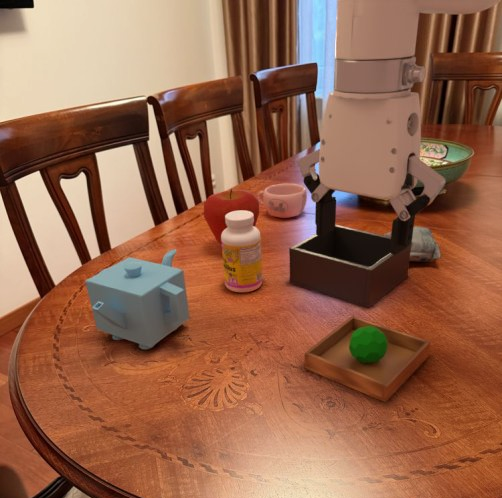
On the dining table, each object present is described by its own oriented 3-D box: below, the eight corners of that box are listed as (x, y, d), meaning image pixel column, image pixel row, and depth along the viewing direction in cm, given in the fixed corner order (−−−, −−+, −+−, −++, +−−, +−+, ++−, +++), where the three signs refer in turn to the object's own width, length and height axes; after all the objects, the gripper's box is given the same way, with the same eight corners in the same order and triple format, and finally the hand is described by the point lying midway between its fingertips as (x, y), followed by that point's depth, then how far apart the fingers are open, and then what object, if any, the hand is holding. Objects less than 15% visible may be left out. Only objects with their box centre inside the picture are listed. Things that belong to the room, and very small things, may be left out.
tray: (428, 357, 70) (430, 341, 69) (385, 402, 63) (387, 386, 62) (351, 330, 77) (352, 315, 76) (304, 368, 70) (304, 352, 68)
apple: (247, 233, 112) (244, 177, 106) (270, 250, 104) (268, 190, 98) (200, 244, 109) (193, 186, 102) (219, 262, 100) (214, 201, 94)
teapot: (69, 346, 77) (49, 277, 71) (149, 295, 90) (138, 233, 84) (149, 375, 70) (135, 302, 64) (224, 315, 83) (218, 249, 77)
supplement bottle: (219, 281, 93) (213, 212, 86) (254, 274, 95) (250, 205, 88) (232, 297, 88) (226, 224, 81) (268, 288, 90) (265, 217, 83)
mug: (312, 209, 123) (312, 184, 120) (297, 223, 116) (297, 197, 113) (266, 205, 128) (265, 180, 125) (249, 218, 120) (247, 193, 117)
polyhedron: (390, 355, 70) (394, 324, 68) (378, 374, 67) (381, 343, 64) (356, 345, 73) (358, 316, 70) (342, 364, 69) (343, 333, 67)
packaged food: (390, 269, 94) (393, 243, 91) (382, 243, 104) (385, 220, 101) (440, 269, 93) (444, 243, 90) (427, 243, 103) (430, 220, 100)
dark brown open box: (407, 277, 91) (411, 241, 87) (368, 308, 82) (371, 270, 79) (332, 256, 100) (333, 224, 96) (289, 283, 91) (289, 248, 88)
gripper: (474, 76, 49) (446, 247, 58) (320, 71, 58) (317, 217, 68) (441, 87, 44) (415, 271, 53) (279, 79, 54) (281, 235, 63)
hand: (360, 241), depth 60 cm, fingers open, 9 cm apart
